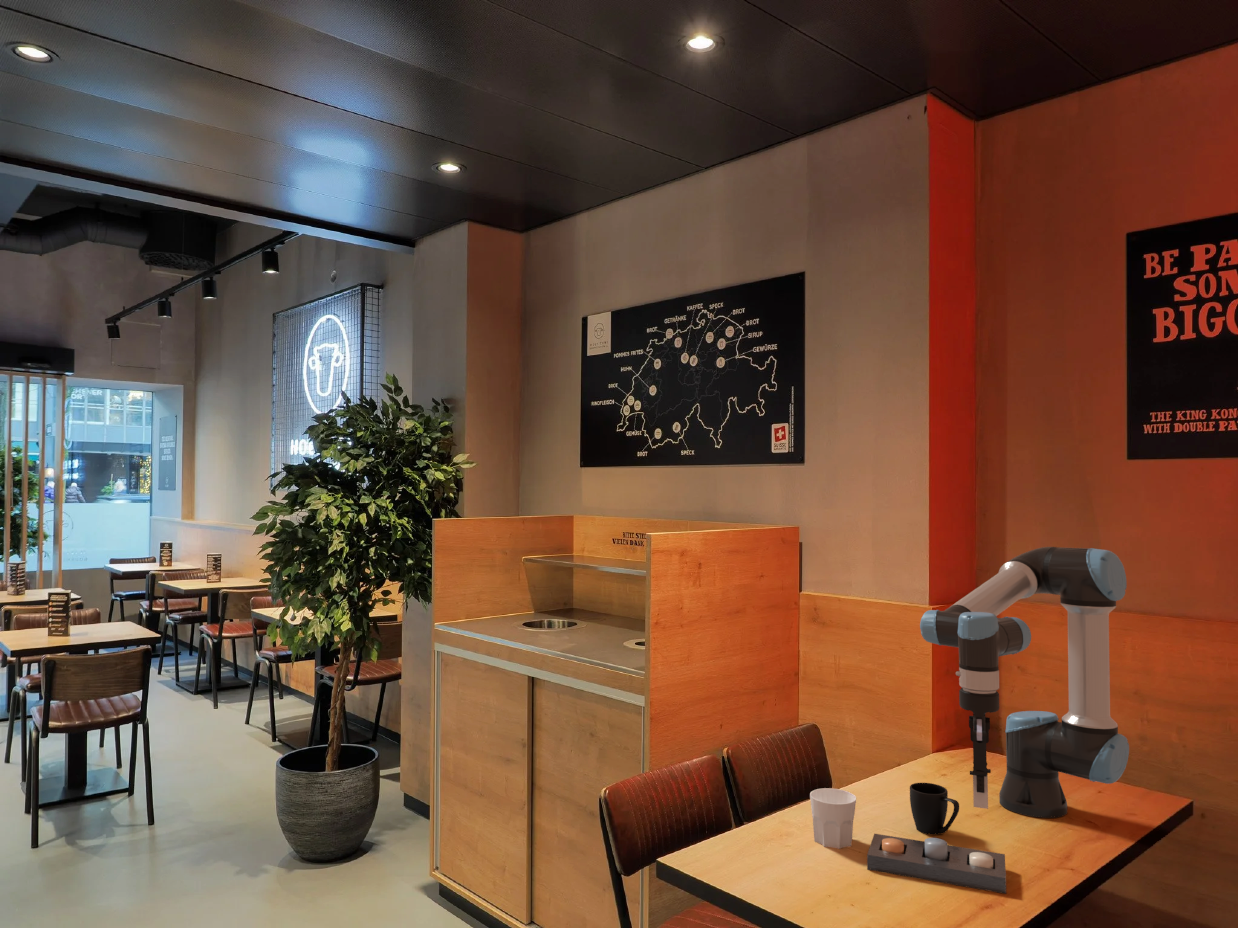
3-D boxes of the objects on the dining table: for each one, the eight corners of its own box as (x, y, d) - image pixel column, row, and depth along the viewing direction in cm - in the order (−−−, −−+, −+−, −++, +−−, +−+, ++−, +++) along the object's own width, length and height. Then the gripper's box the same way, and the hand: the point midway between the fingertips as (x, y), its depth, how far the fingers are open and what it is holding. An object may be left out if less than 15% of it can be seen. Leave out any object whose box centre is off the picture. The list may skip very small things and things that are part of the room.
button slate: (948, 857, 174) (947, 839, 174) (947, 865, 170) (946, 847, 170) (925, 853, 176) (925, 836, 176) (924, 861, 172) (923, 844, 172)
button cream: (993, 872, 171) (993, 854, 171) (993, 881, 167) (993, 862, 167) (969, 868, 173) (969, 850, 173) (969, 876, 169) (969, 858, 169)
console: (1005, 868, 173) (1004, 853, 173) (1006, 893, 162) (1006, 877, 163) (874, 847, 184) (874, 833, 184) (867, 869, 173) (867, 854, 173)
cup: (857, 835, 190) (857, 791, 191) (855, 852, 181) (854, 806, 181) (812, 829, 194) (812, 786, 194) (807, 846, 184) (807, 800, 185)
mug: (944, 845, 185) (943, 802, 185) (902, 826, 195) (902, 785, 196) (969, 838, 189) (969, 795, 189) (927, 820, 199) (926, 780, 200)
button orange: (904, 857, 178) (904, 839, 178) (903, 865, 174) (902, 847, 174) (883, 853, 179) (883, 836, 180) (880, 861, 175) (880, 844, 176)
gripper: (960, 681, 179) (961, 793, 178) (958, 694, 167) (959, 814, 166) (998, 684, 176) (1000, 798, 175) (999, 698, 164) (1001, 820, 163)
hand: (980, 806), depth 170 cm, fingers closed
